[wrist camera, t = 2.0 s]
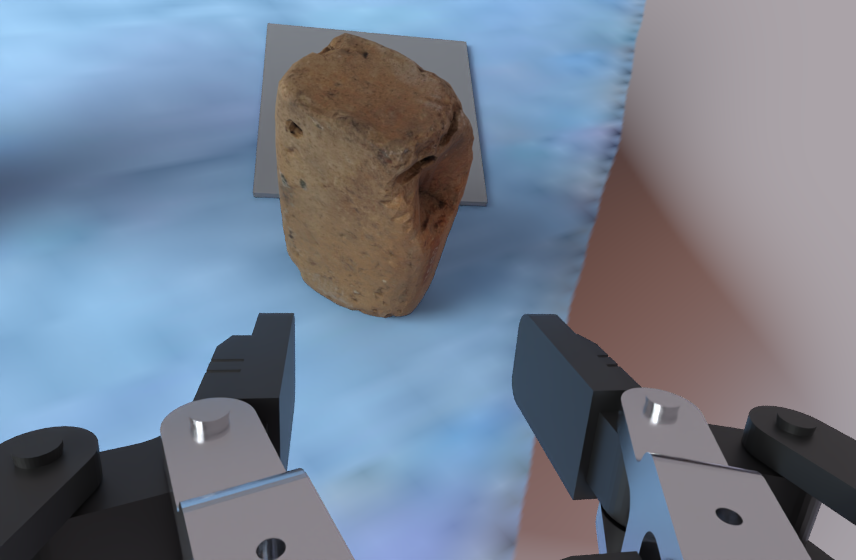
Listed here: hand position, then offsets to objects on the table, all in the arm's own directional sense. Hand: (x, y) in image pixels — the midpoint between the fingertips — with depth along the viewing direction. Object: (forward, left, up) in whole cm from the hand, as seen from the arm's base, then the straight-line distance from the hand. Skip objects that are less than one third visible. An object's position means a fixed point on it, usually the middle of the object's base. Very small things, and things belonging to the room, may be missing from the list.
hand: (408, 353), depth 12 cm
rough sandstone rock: (+1, +16, -28) cm, 33 cm away
